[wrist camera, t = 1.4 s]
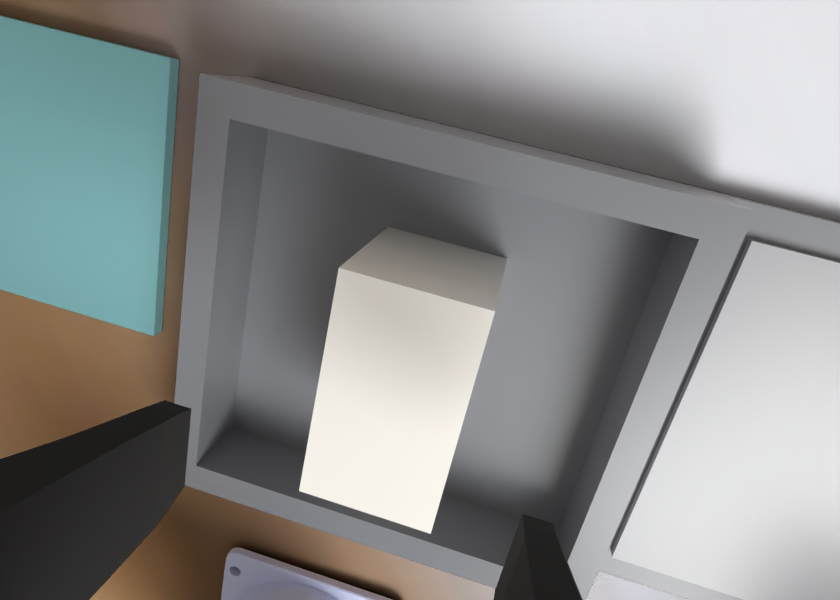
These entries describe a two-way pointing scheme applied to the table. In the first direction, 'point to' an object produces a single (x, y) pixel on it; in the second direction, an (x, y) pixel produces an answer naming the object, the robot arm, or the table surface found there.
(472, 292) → the block
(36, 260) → the teal pad
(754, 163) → the table surface
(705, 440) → the case
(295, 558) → the table surface
